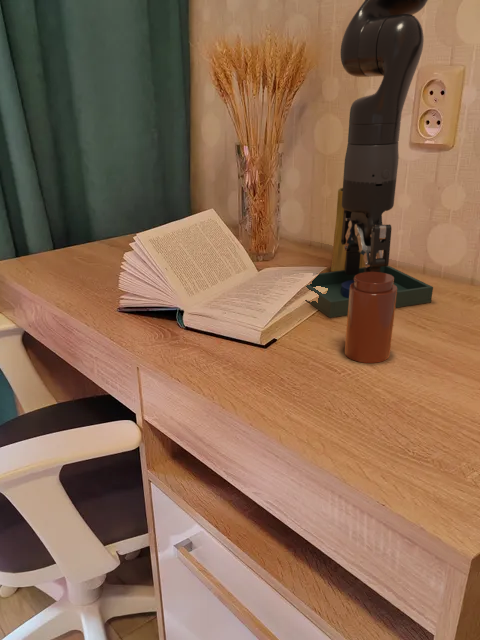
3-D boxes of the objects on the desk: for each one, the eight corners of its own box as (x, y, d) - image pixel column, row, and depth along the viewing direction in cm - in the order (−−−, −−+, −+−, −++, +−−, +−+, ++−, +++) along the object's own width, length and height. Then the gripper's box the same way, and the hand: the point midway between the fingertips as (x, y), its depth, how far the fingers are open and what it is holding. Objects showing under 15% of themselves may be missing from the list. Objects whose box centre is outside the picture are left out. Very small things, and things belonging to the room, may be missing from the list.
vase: (343, 263, 112) (349, 184, 105) (371, 269, 108) (379, 188, 101) (323, 271, 108) (328, 190, 102) (352, 278, 104) (359, 193, 98)
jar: (373, 342, 80) (380, 268, 75) (398, 358, 75) (408, 280, 71) (336, 349, 79) (341, 274, 74) (360, 366, 74) (367, 287, 69)
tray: (384, 278, 103) (386, 264, 102) (431, 302, 92) (433, 286, 91) (292, 291, 100) (293, 276, 99) (329, 318, 88) (330, 302, 87)
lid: (337, 298, 94) (338, 289, 94) (345, 286, 99) (345, 278, 98) (375, 301, 92) (376, 292, 91) (381, 290, 97) (382, 281, 96)
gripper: (330, 170, 93) (324, 271, 101) (361, 185, 81) (352, 299, 88) (376, 167, 94) (367, 267, 101) (415, 181, 81) (401, 295, 89)
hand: (360, 282), depth 95 cm, fingers open, 8 cm apart
